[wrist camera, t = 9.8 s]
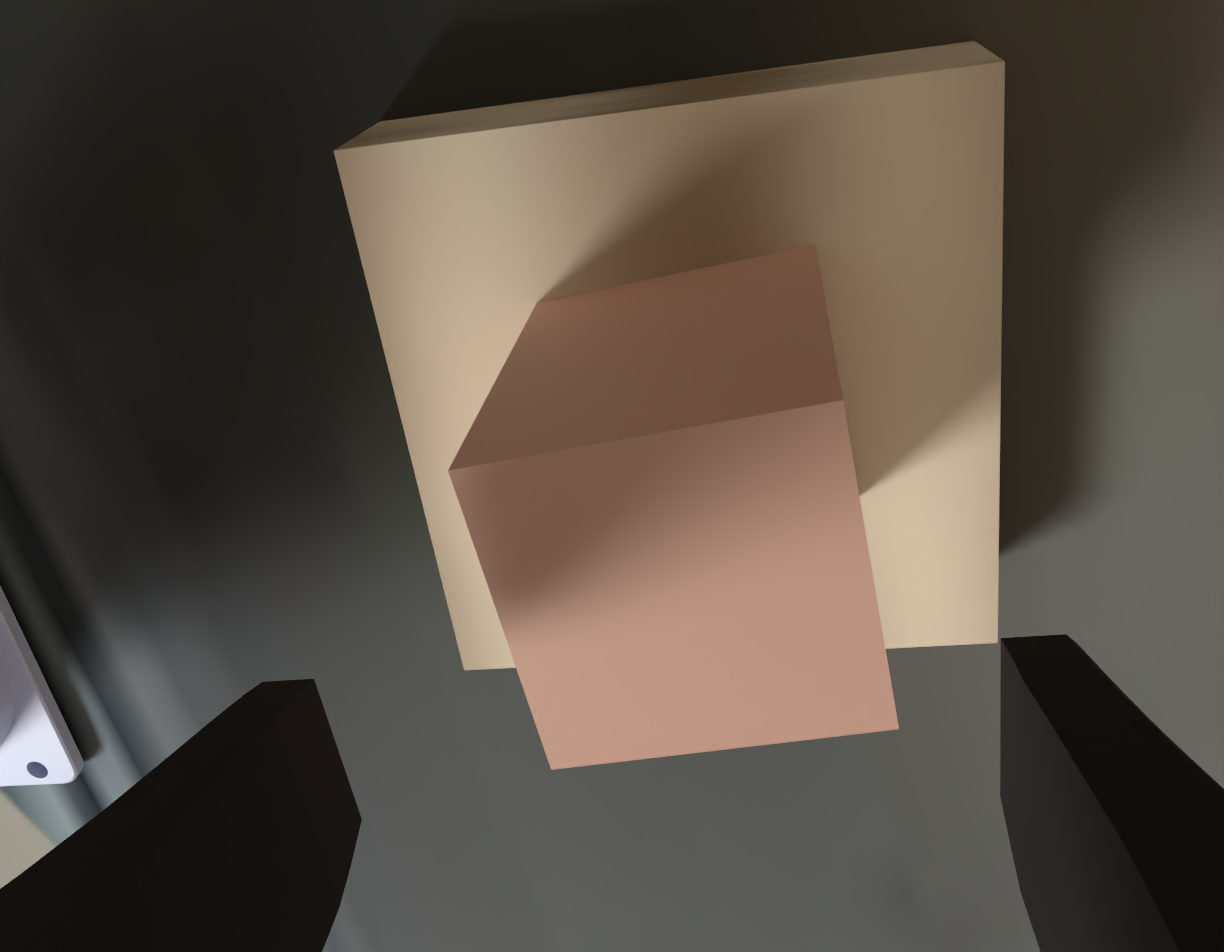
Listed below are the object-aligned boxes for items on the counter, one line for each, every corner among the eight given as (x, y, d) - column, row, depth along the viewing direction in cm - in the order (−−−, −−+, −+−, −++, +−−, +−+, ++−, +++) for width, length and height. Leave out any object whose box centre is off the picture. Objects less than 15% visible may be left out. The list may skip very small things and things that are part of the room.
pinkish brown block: (604, 538, 20) (551, 769, 15) (536, 302, 18) (448, 470, 13) (857, 497, 19) (898, 728, 14) (814, 245, 17) (843, 399, 12)
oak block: (495, 585, 24) (464, 670, 22) (388, 116, 20) (333, 150, 17) (968, 555, 23) (997, 642, 20) (968, 36, 18) (1004, 61, 16)
